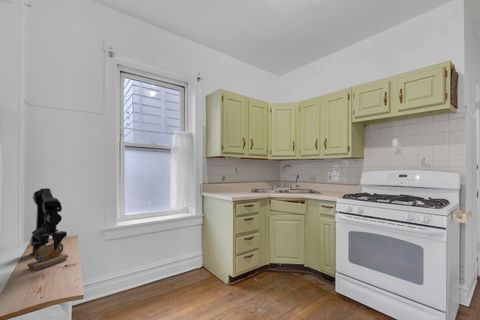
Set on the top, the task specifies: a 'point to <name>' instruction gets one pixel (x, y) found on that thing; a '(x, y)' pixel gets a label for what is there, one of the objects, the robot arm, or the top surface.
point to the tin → (48, 252)
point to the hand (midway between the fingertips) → (49, 248)
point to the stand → (46, 262)
